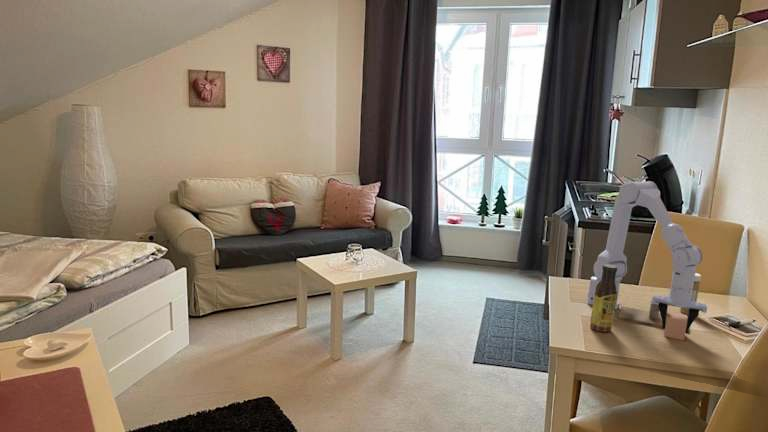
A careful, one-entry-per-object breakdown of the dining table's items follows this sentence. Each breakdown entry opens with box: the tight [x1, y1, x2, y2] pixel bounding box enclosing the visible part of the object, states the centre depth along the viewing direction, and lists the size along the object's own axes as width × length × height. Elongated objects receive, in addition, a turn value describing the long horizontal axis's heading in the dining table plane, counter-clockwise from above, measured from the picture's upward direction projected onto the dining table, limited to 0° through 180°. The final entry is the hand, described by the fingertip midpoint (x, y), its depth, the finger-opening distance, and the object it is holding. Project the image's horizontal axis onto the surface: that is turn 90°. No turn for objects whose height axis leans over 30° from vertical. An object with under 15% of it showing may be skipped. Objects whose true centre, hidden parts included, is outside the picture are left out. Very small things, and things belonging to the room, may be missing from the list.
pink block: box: [663, 311, 688, 341], centre depth 176 cm, size 5×5×6 cm
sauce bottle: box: [589, 264, 617, 333], centre depth 176 cm, size 6×6×20 cm
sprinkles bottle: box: [679, 272, 702, 315], centre depth 195 cm, size 5×5×14 cm
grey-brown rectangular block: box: [617, 300, 690, 334], centre depth 187 cm, size 20×11×6 cm, turn 64°
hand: (674, 330), depth 176 cm, fingers closed on pink block, 5 cm apart
